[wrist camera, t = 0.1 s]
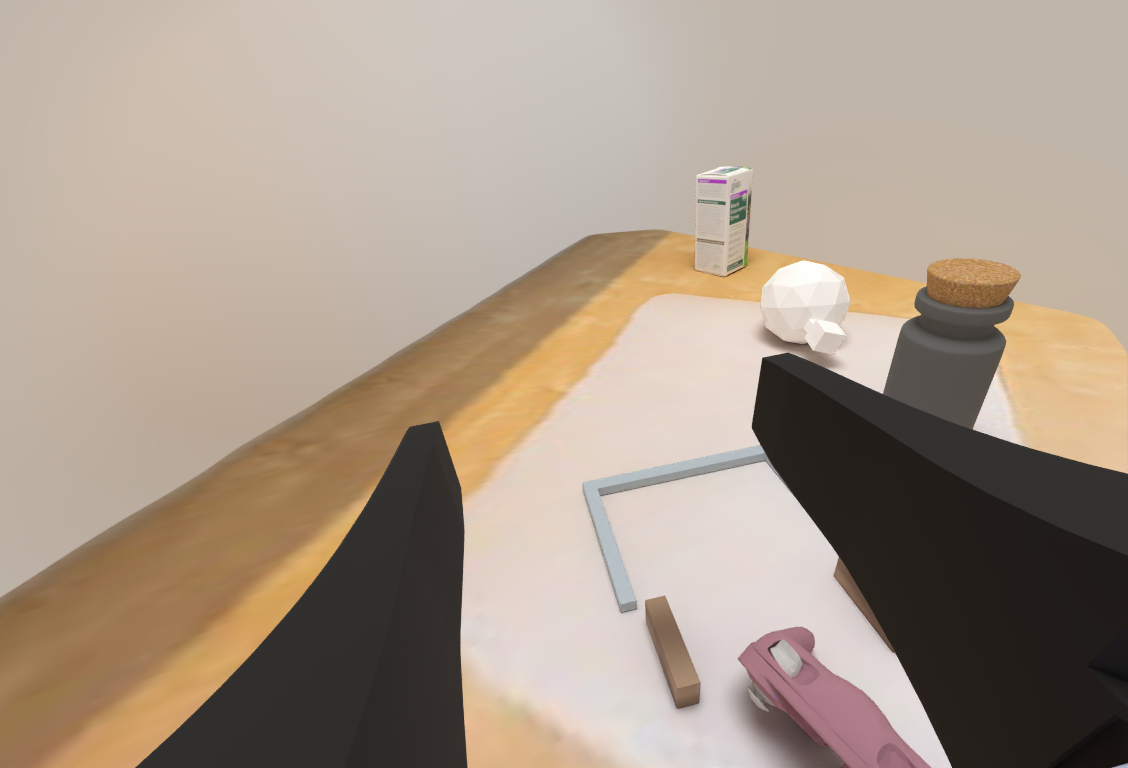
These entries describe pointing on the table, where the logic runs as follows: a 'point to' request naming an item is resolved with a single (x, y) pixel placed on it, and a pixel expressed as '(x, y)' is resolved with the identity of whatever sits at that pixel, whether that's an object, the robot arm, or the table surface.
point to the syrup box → (722, 219)
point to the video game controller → (823, 702)
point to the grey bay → (644, 479)
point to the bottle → (953, 339)
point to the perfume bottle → (806, 305)
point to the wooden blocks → (677, 656)
